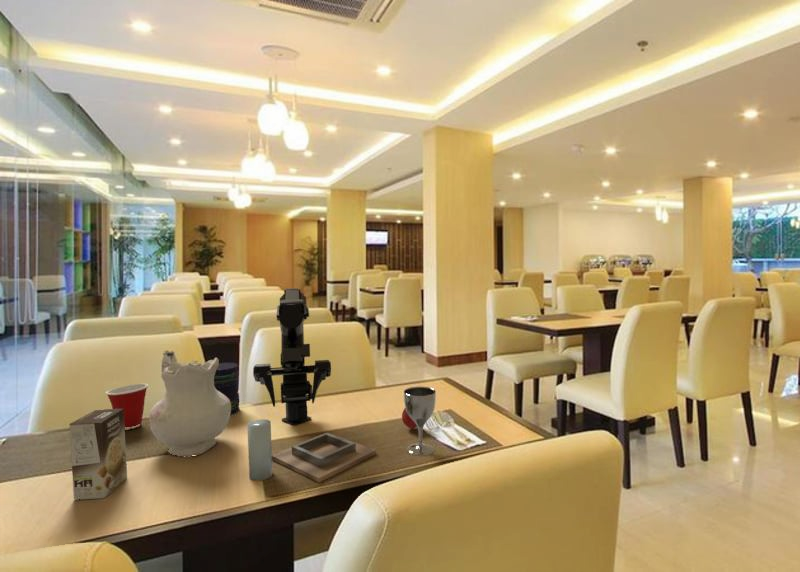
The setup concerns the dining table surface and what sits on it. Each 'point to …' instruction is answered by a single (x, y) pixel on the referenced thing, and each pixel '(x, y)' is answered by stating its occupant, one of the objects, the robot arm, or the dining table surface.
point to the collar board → (323, 456)
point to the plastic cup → (129, 402)
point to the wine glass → (420, 414)
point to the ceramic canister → (260, 449)
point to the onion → (408, 420)
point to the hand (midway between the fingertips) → (293, 404)
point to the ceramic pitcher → (189, 407)
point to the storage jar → (228, 383)
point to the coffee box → (98, 453)
